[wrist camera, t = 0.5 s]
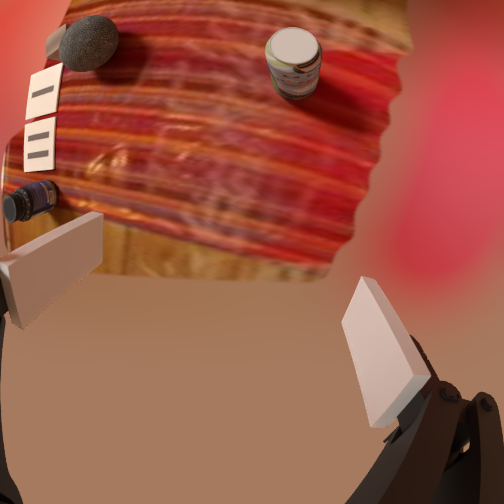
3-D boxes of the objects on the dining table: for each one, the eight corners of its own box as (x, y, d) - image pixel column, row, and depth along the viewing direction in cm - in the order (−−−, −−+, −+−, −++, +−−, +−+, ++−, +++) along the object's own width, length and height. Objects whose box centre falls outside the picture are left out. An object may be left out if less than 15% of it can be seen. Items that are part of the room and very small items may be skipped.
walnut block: (62, 43, 30) (46, 38, 26) (81, 30, 29) (65, 23, 25) (63, 62, 32) (46, 57, 27) (82, 48, 31) (65, 42, 26)
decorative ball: (75, 55, 31) (40, 44, 22) (116, 17, 29) (85, -3, 20) (94, 87, 34) (56, 79, 25) (138, 47, 31) (106, 27, 22)
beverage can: (290, 110, 34) (296, 92, 23) (257, 72, 32) (250, 41, 21) (325, 87, 32) (345, 63, 21) (293, 50, 31) (299, 13, 20)
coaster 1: (32, 75, 32) (31, 75, 32) (64, 62, 32) (62, 62, 31) (26, 120, 36) (25, 120, 35) (57, 111, 35) (55, 111, 35)
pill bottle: (45, 173, 40) (4, 184, 30) (62, 189, 41) (21, 203, 30) (37, 200, 42) (-2, 214, 32) (54, 216, 43) (15, 234, 32)
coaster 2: (26, 124, 36) (24, 124, 36) (56, 116, 36) (54, 116, 35) (25, 171, 40) (23, 172, 39) (54, 169, 39) (52, 169, 39)
